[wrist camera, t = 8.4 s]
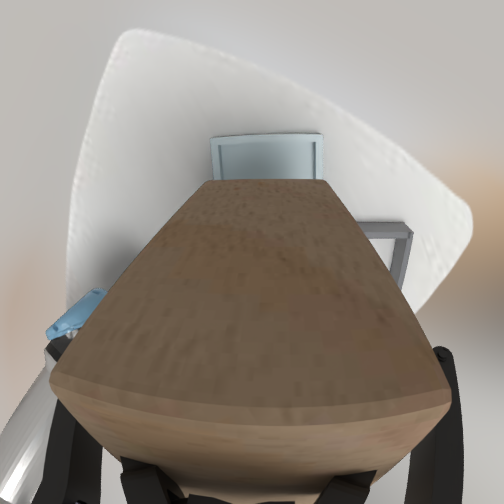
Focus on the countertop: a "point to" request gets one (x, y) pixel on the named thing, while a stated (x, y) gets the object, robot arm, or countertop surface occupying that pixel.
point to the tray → (268, 156)
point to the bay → (401, 245)
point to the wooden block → (255, 349)
